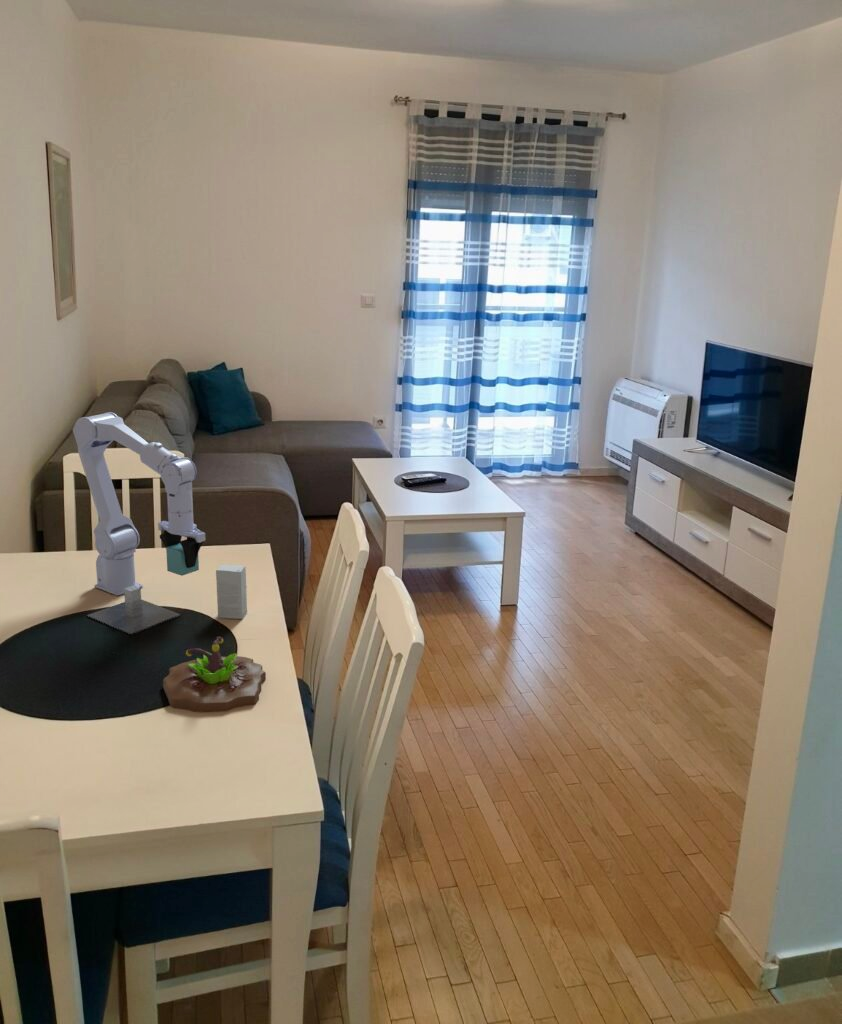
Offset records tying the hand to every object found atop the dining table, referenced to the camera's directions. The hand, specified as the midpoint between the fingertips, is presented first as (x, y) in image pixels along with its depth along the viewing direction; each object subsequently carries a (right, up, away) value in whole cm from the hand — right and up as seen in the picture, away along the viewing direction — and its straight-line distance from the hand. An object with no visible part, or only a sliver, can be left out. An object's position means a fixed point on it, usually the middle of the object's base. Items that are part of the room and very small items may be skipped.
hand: (182, 564), depth 215 cm
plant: (+16, -23, -37) cm, 47 cm away
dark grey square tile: (-10, -12, -5) cm, 16 cm away
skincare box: (+13, -12, -3) cm, 18 cm away
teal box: (0, -2, 0) cm, 2 cm away
